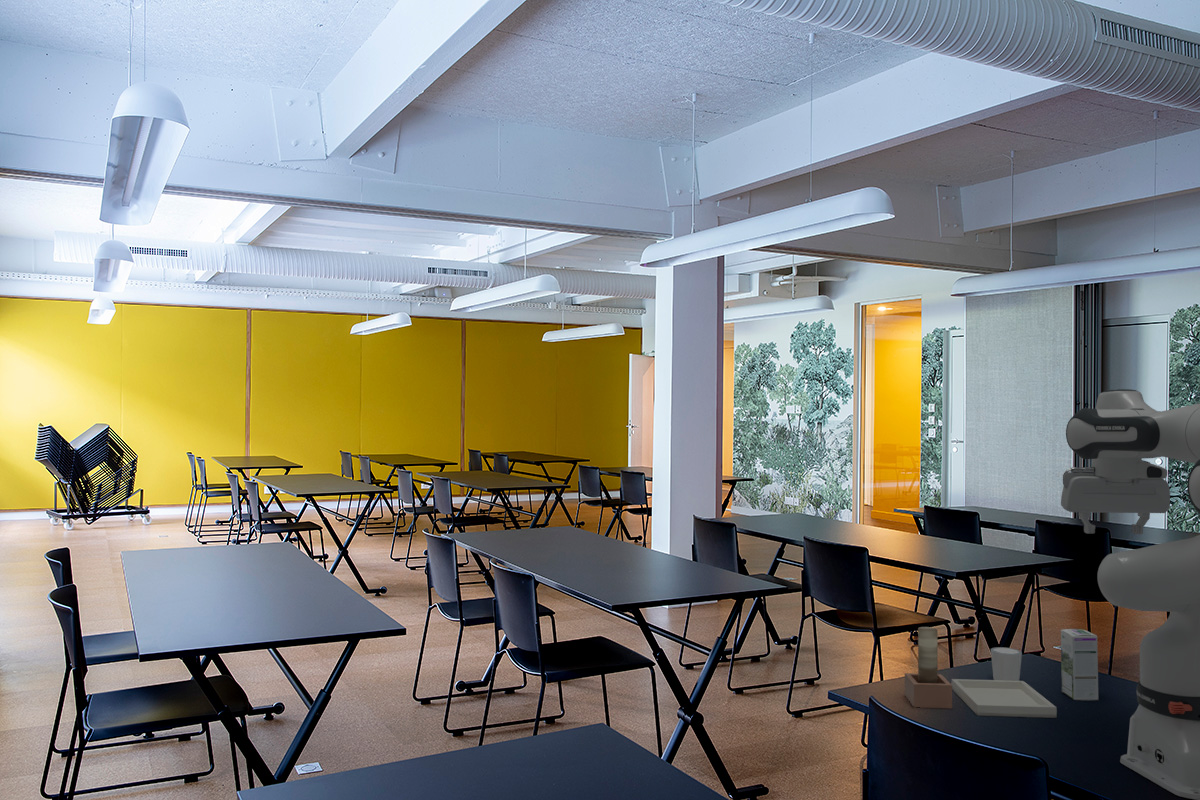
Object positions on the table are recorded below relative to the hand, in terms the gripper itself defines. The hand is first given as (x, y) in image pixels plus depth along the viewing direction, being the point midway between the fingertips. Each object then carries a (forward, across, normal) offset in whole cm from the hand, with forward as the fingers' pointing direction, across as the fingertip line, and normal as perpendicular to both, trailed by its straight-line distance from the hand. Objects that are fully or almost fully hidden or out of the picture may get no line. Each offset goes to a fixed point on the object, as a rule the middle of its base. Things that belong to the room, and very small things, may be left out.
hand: (1113, 533), depth 185 cm
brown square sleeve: (+40, -35, +5) cm, 53 cm away
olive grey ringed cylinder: (+40, -35, +5) cm, 53 cm away
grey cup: (+42, -12, +23) cm, 49 cm away
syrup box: (+40, 0, +12) cm, 42 cm away
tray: (+40, -19, +6) cm, 44 cm away
